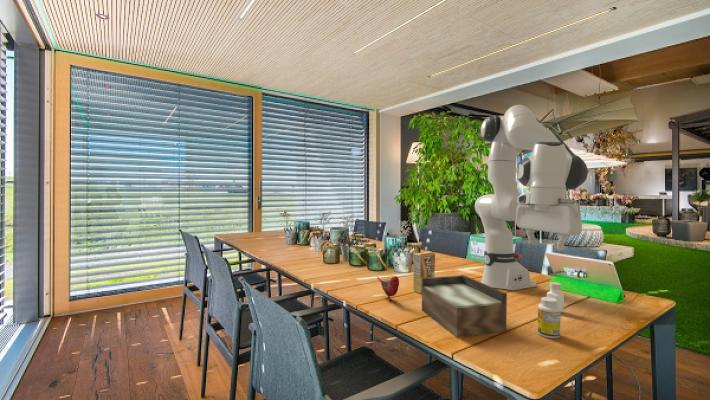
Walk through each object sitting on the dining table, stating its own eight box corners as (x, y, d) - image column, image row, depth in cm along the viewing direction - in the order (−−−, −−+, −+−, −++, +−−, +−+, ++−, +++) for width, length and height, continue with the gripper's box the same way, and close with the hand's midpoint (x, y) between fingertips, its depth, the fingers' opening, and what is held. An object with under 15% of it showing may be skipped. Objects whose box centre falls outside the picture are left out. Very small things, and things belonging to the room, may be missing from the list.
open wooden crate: (463, 306, 120) (464, 275, 120) (506, 331, 99) (506, 293, 98) (421, 310, 116) (422, 278, 116) (456, 337, 95) (456, 297, 94)
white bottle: (557, 314, 112) (557, 285, 112) (545, 310, 116) (546, 282, 116) (564, 312, 114) (565, 284, 114) (552, 308, 118) (553, 281, 117)
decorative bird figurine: (395, 306, 120) (395, 278, 119) (373, 292, 136) (374, 267, 136) (402, 305, 121) (402, 277, 120) (380, 291, 137) (380, 267, 137)
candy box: (426, 287, 143) (427, 251, 143) (435, 289, 140) (435, 252, 140) (412, 291, 138) (413, 253, 137) (421, 293, 135) (421, 255, 134)
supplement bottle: (540, 329, 100) (540, 294, 100) (561, 334, 97) (562, 298, 96) (535, 335, 96) (536, 299, 96) (558, 341, 92) (558, 303, 92)
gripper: (589, 199, 87) (587, 253, 87) (530, 198, 107) (528, 242, 107) (569, 199, 86) (567, 254, 86) (513, 197, 105) (511, 242, 106)
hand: (545, 247), depth 97 cm, fingers open, 8 cm apart
